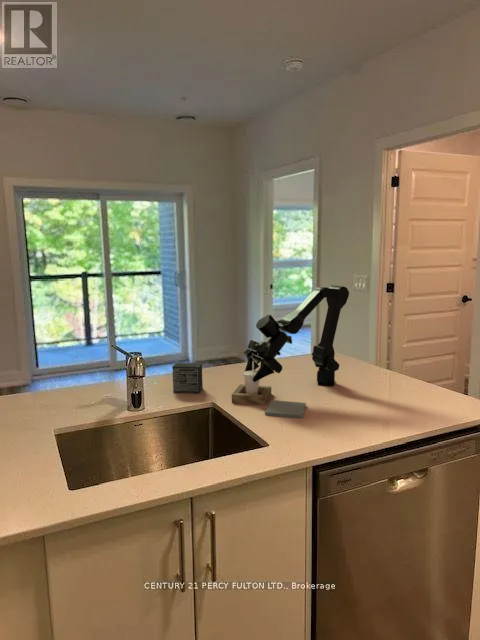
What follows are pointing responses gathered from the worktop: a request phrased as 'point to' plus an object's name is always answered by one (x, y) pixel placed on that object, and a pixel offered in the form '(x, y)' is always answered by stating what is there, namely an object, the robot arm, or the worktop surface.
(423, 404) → the worktop surface
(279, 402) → the coaster
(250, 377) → the smoothie
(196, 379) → the small box
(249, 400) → the holder
